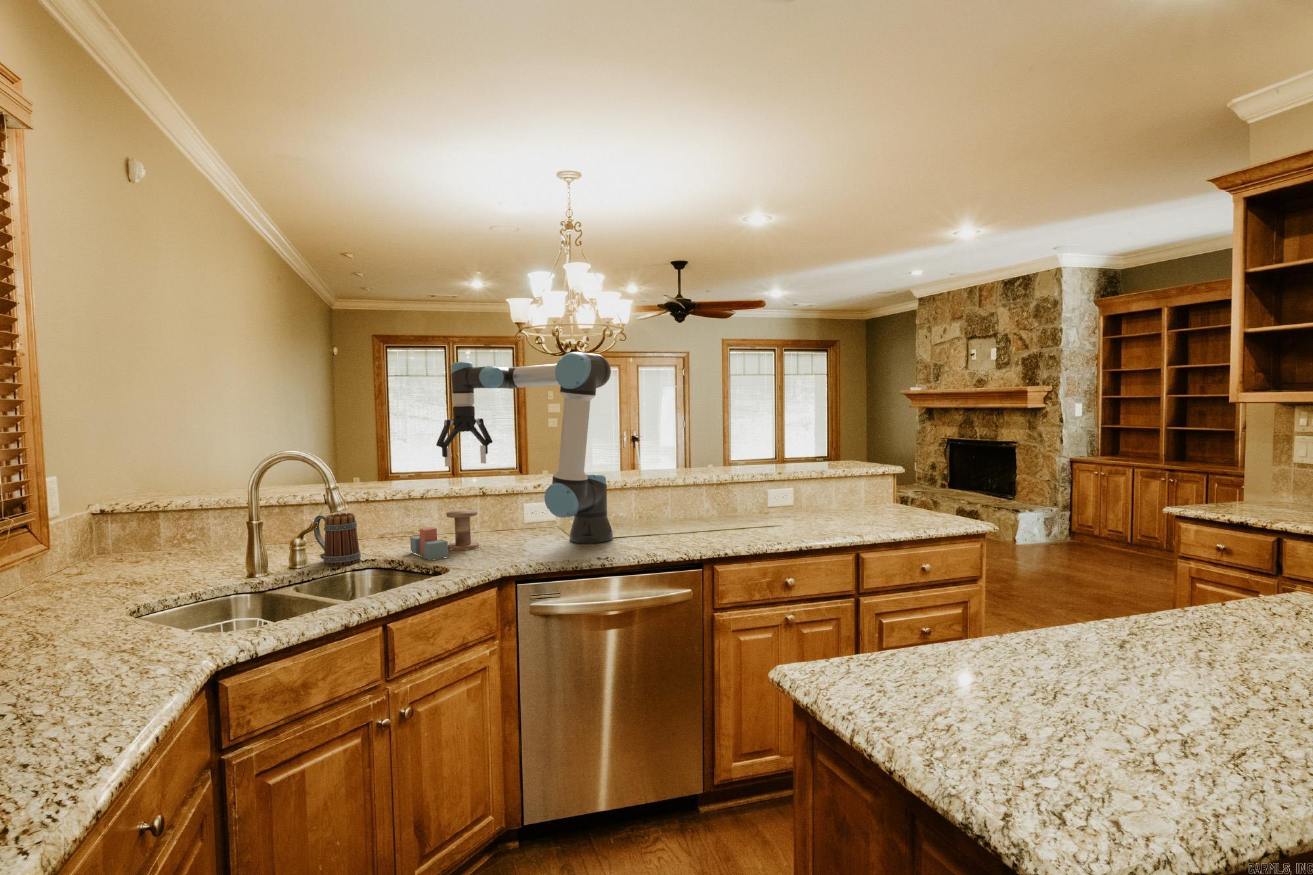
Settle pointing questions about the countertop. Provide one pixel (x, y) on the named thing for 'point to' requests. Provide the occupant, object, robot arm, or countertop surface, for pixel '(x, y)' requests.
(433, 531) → the red rectangular block
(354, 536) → the mug
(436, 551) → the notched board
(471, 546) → the bobbin
